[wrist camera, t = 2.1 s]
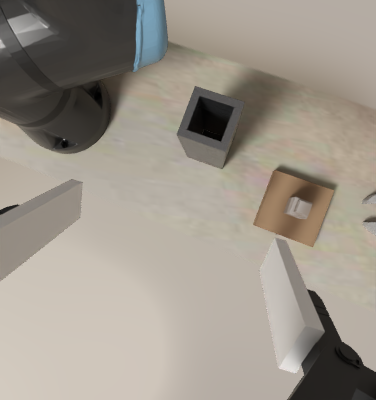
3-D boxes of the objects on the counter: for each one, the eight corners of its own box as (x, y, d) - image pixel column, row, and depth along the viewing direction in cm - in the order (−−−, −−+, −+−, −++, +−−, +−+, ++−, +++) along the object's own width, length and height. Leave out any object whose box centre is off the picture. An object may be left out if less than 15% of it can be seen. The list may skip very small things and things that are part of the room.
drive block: (252, 224, 39) (259, 227, 33) (272, 172, 39) (283, 165, 33) (307, 245, 38) (325, 252, 32) (327, 191, 38) (350, 188, 31)
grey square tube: (187, 156, 40) (176, 134, 28) (200, 122, 40) (195, 86, 28) (221, 169, 39) (225, 151, 27) (235, 134, 39) (244, 102, 27)
